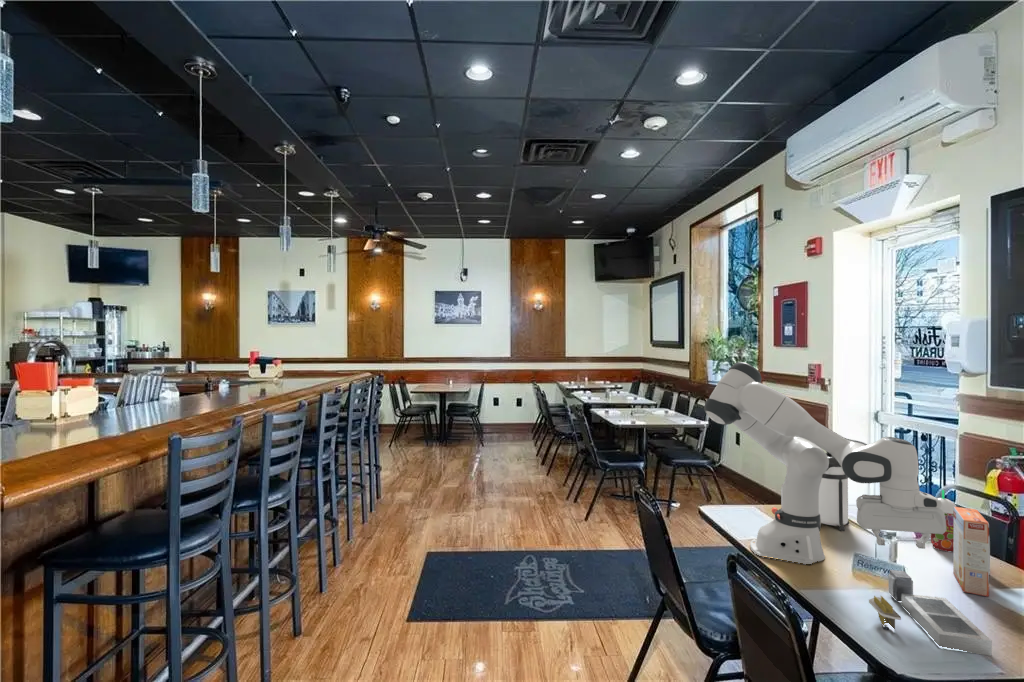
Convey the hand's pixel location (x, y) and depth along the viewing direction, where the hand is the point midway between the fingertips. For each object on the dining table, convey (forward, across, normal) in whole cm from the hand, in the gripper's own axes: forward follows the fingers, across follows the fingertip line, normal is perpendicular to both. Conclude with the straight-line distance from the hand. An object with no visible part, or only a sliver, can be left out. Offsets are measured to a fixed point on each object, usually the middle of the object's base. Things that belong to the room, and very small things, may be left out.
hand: (900, 546), depth 143 cm
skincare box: (+15, +29, +27) cm, 43 cm away
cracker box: (+15, +23, +15) cm, 31 cm away
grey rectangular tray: (+15, +3, -14) cm, 21 cm away
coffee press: (+15, -2, +61) cm, 63 cm away
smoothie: (+15, +28, +44) cm, 55 cm away
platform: (+15, -10, -16) cm, 24 cm away
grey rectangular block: (+15, 0, 0) cm, 15 cm away
